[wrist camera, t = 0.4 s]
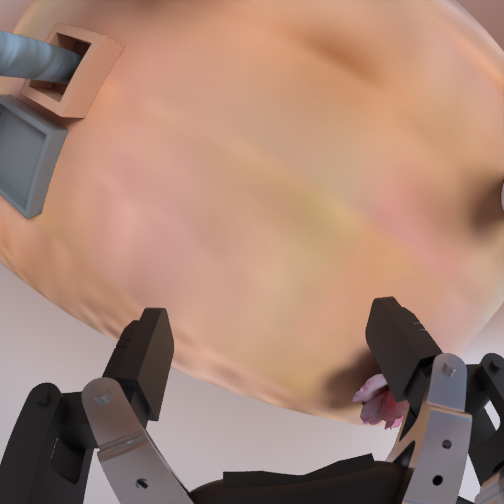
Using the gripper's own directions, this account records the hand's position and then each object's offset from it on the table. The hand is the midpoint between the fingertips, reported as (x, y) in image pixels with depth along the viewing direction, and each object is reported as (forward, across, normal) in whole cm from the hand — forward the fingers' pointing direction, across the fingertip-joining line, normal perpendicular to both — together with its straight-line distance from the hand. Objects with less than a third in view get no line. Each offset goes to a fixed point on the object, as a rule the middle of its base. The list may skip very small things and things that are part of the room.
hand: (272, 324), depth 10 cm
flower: (+17, -22, +26) cm, 38 cm away
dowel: (+22, +20, -18) cm, 34 cm away
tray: (+22, +32, -10) cm, 40 cm away
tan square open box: (+22, +20, -18) cm, 34 cm away
